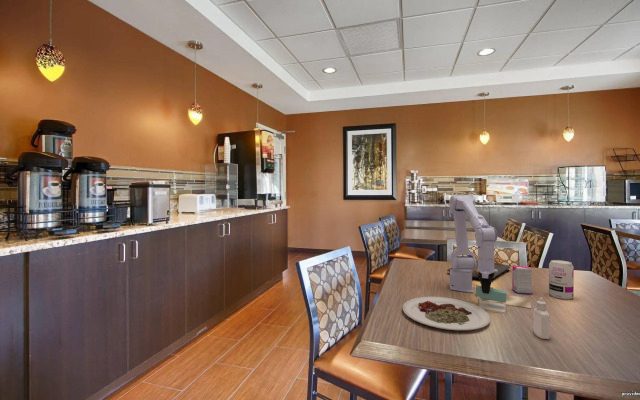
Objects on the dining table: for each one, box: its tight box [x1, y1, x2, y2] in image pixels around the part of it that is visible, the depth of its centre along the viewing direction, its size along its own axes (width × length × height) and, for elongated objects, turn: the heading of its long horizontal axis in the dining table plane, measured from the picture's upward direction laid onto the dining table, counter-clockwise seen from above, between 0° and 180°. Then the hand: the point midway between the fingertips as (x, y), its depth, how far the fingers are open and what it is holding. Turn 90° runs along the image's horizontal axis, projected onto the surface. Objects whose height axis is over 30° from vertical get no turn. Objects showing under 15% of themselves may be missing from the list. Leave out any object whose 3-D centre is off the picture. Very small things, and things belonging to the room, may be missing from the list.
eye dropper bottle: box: [532, 297, 551, 340], centre depth 94 cm, size 4×6×12 cm
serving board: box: [446, 258, 511, 279], centre depth 168 cm, size 39×23×6 cm, turn 132°
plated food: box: [402, 296, 491, 331], centre depth 111 cm, size 30×30×3 cm
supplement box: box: [511, 265, 533, 295], centre depth 134 cm, size 6×6×12 cm
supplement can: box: [548, 259, 575, 301], centre depth 127 cm, size 8×8×15 cm
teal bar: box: [474, 284, 507, 303], centre depth 117 cm, size 10×4×4 cm, turn 59°
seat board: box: [478, 286, 532, 310], centre depth 125 cm, size 18×12×4 cm, turn 58°
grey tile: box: [477, 300, 506, 315], centre depth 117 cm, size 9×9×1 cm
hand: (486, 291), depth 118 cm, fingers closed on teal bar, 3 cm apart
